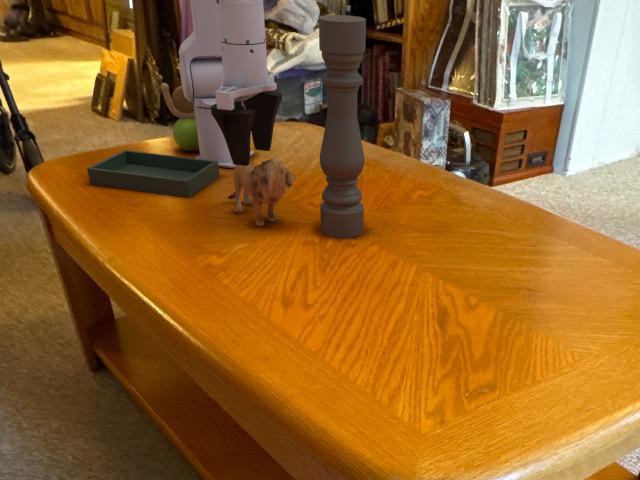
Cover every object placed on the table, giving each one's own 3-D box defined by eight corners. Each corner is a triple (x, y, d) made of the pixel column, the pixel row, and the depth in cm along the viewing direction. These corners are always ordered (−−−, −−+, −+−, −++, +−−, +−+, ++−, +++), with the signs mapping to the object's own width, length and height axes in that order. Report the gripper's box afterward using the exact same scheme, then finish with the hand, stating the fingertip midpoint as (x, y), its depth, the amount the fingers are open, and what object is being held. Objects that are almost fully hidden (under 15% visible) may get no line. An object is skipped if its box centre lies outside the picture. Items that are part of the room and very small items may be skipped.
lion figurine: (301, 225, 98) (299, 158, 92) (272, 234, 95) (268, 165, 89) (242, 198, 106) (236, 135, 100) (213, 205, 103) (205, 140, 97)
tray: (127, 164, 116) (124, 149, 115) (219, 176, 113) (218, 161, 112) (90, 184, 108) (86, 168, 107) (188, 197, 105) (186, 181, 104)
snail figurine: (167, 148, 124) (155, 72, 116) (201, 145, 126) (192, 70, 118) (173, 156, 121) (162, 78, 113) (209, 153, 123) (200, 76, 115)
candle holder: (365, 223, 100) (370, 16, 83) (360, 239, 95) (365, 23, 78) (324, 220, 100) (320, 13, 83) (317, 236, 95) (312, 20, 79)
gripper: (249, 52, 80) (258, 175, 89) (292, 36, 90) (297, 146, 100) (194, 47, 81) (209, 169, 90) (243, 31, 92) (252, 141, 101)
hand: (252, 157), depth 95 cm, fingers open, 7 cm apart
